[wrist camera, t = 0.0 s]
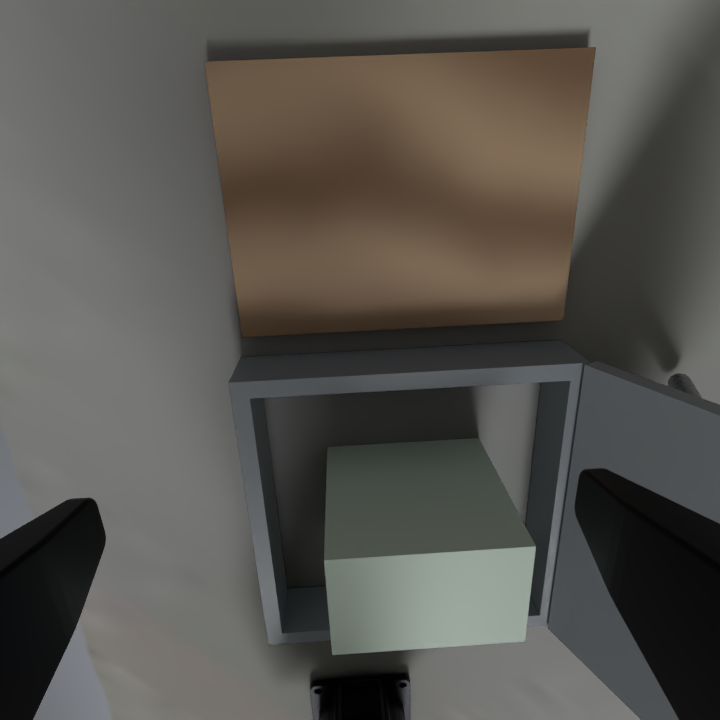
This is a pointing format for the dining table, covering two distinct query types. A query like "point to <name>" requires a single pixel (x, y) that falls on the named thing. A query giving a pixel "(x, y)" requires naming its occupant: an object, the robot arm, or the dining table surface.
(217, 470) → the dining table surface
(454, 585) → the block
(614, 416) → the equipment case
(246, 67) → the board
